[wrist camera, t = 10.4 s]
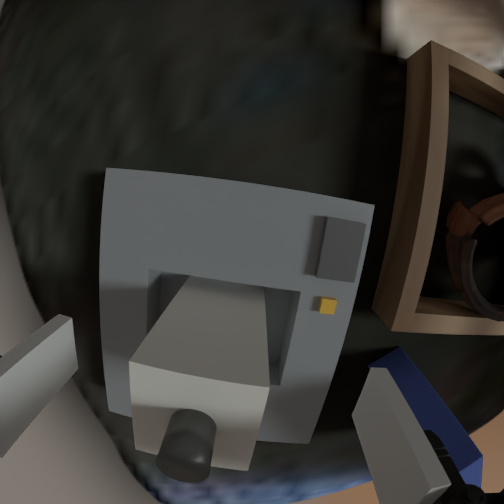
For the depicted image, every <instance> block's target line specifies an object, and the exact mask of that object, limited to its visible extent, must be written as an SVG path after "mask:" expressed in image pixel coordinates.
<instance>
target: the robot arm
mask: <svg viewBox="0 0 504 504" xmlns="http://www.w3.org/2000/svg"><path fill="white" fill-rule="evenodd" d="M77 370H78V363H77V356H76V349H75V341H74V332H73V322H72V318H71V317H67V316H64V315H61V314H58V315H57V316H55V317H54V318H53V319H51V320H50V321H48V322H47V323H46V324H44V325H43V326H42V327H41V328H39V329H38V330H36V331H35V332H34V333H32V334H31V335H30V336H28V337H27V338H26V339H24V340H23V341H22V342H20V343H19V344H18V345H17V346H15V347H14V348H13V349H11V350H10V351H9V352H7V353H6V354H5V355H4V356H0V457H1V458H2V457H3V456H4V455H5V454H6V452H7V451H8V450H9V449H10V447H11V446H12V445H13V443H15V441H16V440H17V439H18V438H19V436H20V435H21V434H22V433H23V432H24V430H25V429H26V428H27V427H28V426H29V425H30V423H31V422H32V421H33V420H34V418H35V417H36V416H37V415H38V414H39V413H40V412H41V410H42V409H43V408H44V407H45V406H46V405H47V403H48V402H49V401H50V400H51V399H52V398H53V396H54V395H55V394H56V393H57V392H58V391H59V390H60V389H61V387H62V386H63V385H64V384H65V383H66V382H67V381H68V380H69V378H70V377H71V376H72V375H73V374H74V373H75V372H76V371H77ZM352 418H353V421H354V424H355V427H356V430H357V433H358V436H359V439H360V442H361V445H362V448H363V452H364V455H365V458H366V461H367V464H368V467H369V470H370V474H371V477H372V480H373V483H374V486H375V490H376V493H377V496H378V500H379V503H380V504H504V489H503V490H502V491H501V492H500V493H484V492H483V490H481V488H480V487H478V486H476V485H473V484H466V483H465V482H464V480H463V478H462V476H461V474H460V473H459V471H458V469H457V467H456V465H455V464H454V462H453V460H452V458H451V457H449V453H448V451H447V450H446V449H445V446H444V444H443V443H442V441H441V439H440V438H439V437H438V436H437V435H436V434H435V433H434V432H432V431H431V430H422V428H421V426H420V424H419V423H418V421H417V419H416V417H415V415H414V414H413V412H412V410H411V408H410V407H409V405H408V403H407V402H406V400H405V398H404V396H403V395H402V393H401V391H400V390H399V388H398V386H397V384H396V383H395V381H394V379H393V378H392V376H391V374H390V373H389V371H388V369H387V368H373V367H371V369H370V371H369V374H368V377H367V379H366V382H365V384H364V387H363V389H362V392H361V394H360V397H359V399H358V402H357V404H356V406H355V409H354V411H353V413H352Z"/></svg>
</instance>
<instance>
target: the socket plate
mask: <svg viewBox="0 0 504 504" xmlns="http://www.w3.org/2000/svg"><path fill="white" fill-rule="evenodd" d="M374 206H375V205H371V204H367V203H362V202H357V201H352V200H347V199H342V198H336V197H331V196H326V195H320V194H315V193H309V192H303V191H297V190H291V189H285V188H279V187H273V186H266V185H260V184H253V183H246V182H239V181H231V180H224V179H216V178H208V177H200V176H191V175H182V174H173V173H163V172H152V171H141V170H129V169H115V168H106V175H105V184H104V194H103V205H102V218H101V235H100V264H99V297H100V326H101V342H102V355H103V366H104V376H105V384H106V392H107V400H108V407H109V411H112V412H115V413H118V414H122V415H125V416H129V417H132V409H131V394H130V375H129V360H130V359H131V357H132V356H133V355H134V353H135V352H136V350H137V349H138V347H139V346H140V345H141V343H142V342H143V340H144V339H145V337H146V336H147V335H148V333H149V332H150V330H151V329H152V328H153V326H154V325H155V323H156V322H157V321H158V319H159V318H160V316H161V315H162V314H163V312H164V311H165V309H166V308H167V307H168V305H169V304H170V302H171V301H172V300H173V298H174V297H175V295H176V294H177V293H178V291H179V290H180V289H181V287H182V286H183V285H184V283H185V282H186V280H187V279H188V278H189V276H190V275H191V276H197V277H203V278H210V279H216V280H223V281H229V282H236V283H243V284H249V285H256V286H263V287H264V293H265V310H266V327H267V344H268V362H269V380H270V389H269V393H268V397H267V401H266V405H265V409H264V413H263V417H262V421H261V424H260V428H259V432H258V436H257V439H256V440H259V441H271V442H285V443H308V444H309V442H310V439H311V436H312V434H313V431H314V429H315V426H316V423H317V421H318V418H319V415H320V412H321V410H322V407H323V404H324V401H325V398H326V395H327V393H328V390H329V387H330V384H331V381H332V378H333V374H334V371H335V368H336V365H337V362H338V359H339V355H340V352H341V349H342V345H343V342H344V338H345V335H346V331H347V328H348V324H349V320H350V317H351V313H352V309H353V305H354V301H355V297H356V293H357V289H358V285H359V281H360V276H361V272H362V268H363V263H364V258H365V254H366V249H367V244H368V239H369V234H370V229H371V223H372V218H373V212H374Z"/></svg>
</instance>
